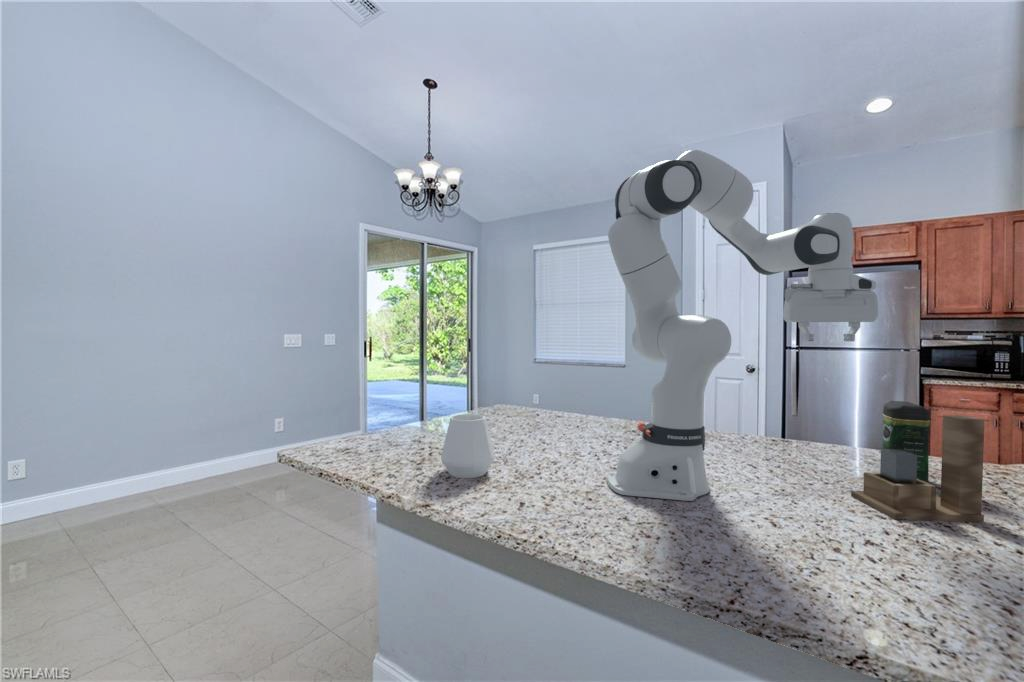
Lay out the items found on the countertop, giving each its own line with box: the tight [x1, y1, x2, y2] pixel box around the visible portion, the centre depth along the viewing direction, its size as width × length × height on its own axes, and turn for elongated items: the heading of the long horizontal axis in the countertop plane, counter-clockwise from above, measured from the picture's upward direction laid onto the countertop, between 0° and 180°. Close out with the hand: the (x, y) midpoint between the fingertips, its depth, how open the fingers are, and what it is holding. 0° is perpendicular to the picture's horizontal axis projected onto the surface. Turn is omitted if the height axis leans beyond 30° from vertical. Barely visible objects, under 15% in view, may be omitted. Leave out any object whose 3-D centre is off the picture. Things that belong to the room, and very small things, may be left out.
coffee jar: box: [881, 400, 931, 483], centre depth 110 cm, size 10×8×19 cm
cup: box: [440, 413, 496, 479], centre depth 113 cm, size 13×13×14 cm
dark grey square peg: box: [879, 449, 917, 484], centre depth 92 cm, size 4×4×10 cm
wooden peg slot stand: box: [850, 414, 986, 523], centre depth 91 cm, size 16×12×19 cm
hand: (828, 341), depth 109 cm, fingers open, 8 cm apart
